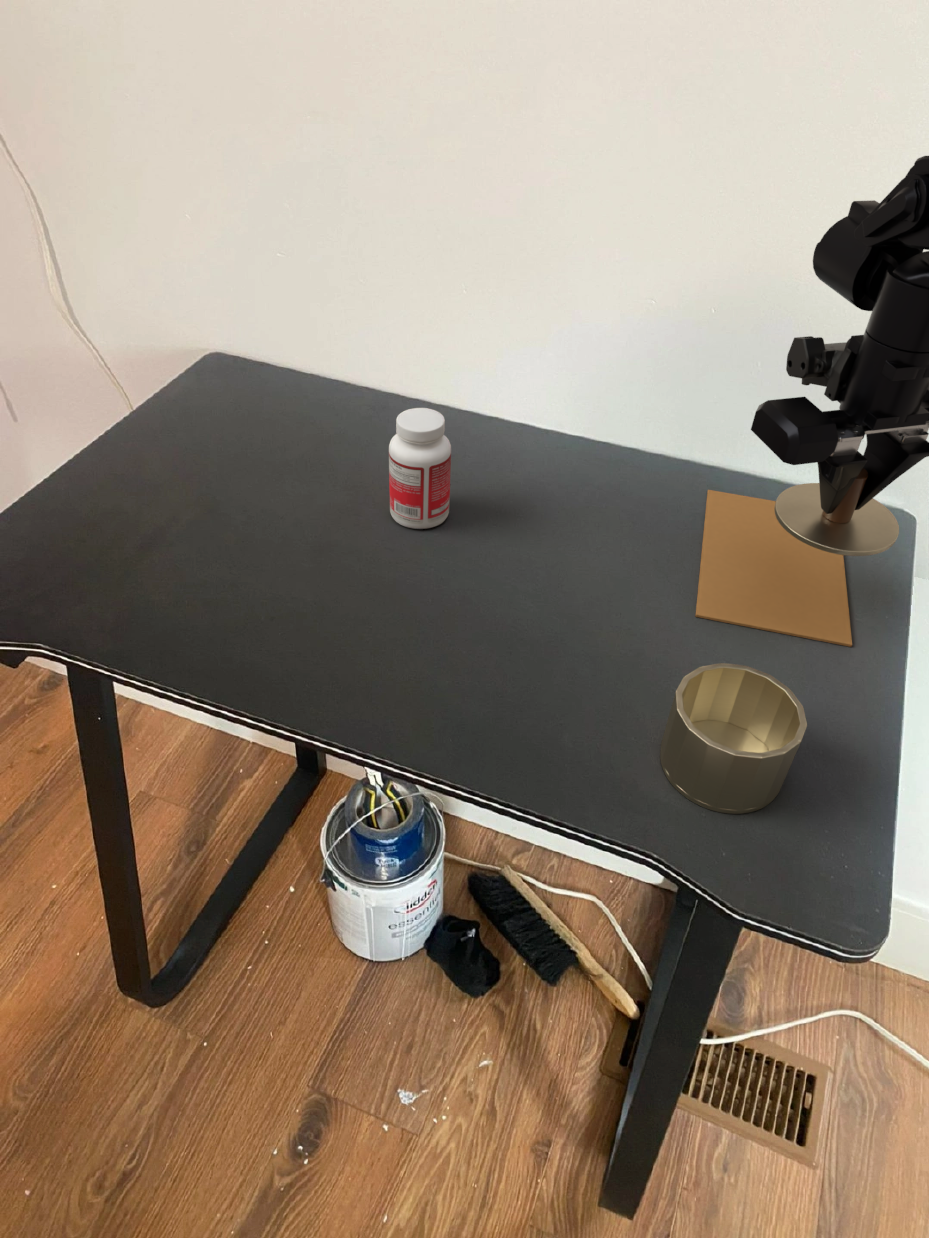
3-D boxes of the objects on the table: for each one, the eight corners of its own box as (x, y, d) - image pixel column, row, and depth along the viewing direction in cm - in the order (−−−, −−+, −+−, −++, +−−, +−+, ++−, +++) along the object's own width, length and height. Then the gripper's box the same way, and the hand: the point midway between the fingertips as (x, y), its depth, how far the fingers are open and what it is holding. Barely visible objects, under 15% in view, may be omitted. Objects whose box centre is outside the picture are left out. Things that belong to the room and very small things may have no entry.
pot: (744, 711, 76) (764, 655, 72) (805, 800, 70) (831, 743, 65) (640, 731, 74) (655, 674, 70) (693, 825, 67) (712, 768, 63)
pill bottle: (443, 495, 98) (446, 402, 91) (454, 528, 94) (458, 433, 87) (385, 499, 97) (384, 405, 90) (393, 533, 93) (393, 437, 85)
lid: (849, 487, 85) (870, 433, 82) (920, 553, 78) (946, 498, 74) (750, 500, 83) (767, 445, 79) (813, 569, 76) (834, 513, 72)
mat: (838, 514, 99) (839, 512, 99) (851, 647, 83) (852, 644, 83) (707, 491, 101) (708, 489, 101) (695, 616, 85) (695, 614, 85)
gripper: (940, 288, 77) (876, 450, 87) (742, 302, 73) (699, 471, 83) (1035, 344, 69) (953, 516, 79) (819, 365, 65) (762, 543, 75)
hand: (839, 509), depth 79 cm, fingers closed on lid, 2 cm apart
